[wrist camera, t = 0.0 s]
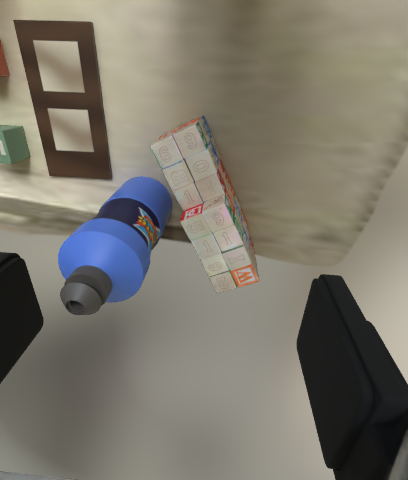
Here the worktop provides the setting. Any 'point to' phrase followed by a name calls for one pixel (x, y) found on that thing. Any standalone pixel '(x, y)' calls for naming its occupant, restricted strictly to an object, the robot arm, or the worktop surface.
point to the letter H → (3, 63)
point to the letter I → (12, 144)
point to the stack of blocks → (207, 204)
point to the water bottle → (114, 247)
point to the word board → (66, 96)
